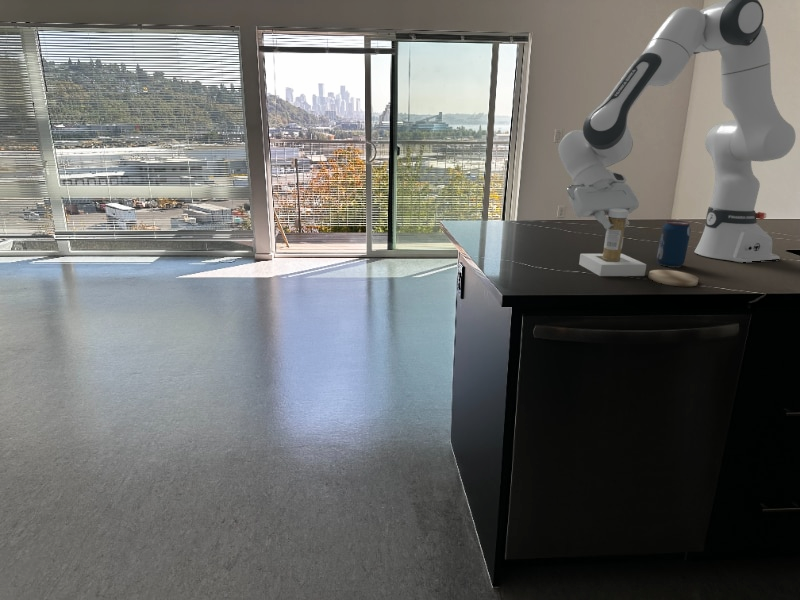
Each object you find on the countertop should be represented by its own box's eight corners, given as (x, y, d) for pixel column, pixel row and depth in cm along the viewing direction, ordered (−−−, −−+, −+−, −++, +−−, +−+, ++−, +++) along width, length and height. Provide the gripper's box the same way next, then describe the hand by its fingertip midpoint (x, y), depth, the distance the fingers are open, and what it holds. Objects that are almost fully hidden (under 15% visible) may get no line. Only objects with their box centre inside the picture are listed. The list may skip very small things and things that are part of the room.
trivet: (679, 274, 132) (679, 269, 132) (707, 286, 122) (708, 281, 121) (639, 274, 131) (640, 269, 130) (665, 286, 121) (666, 281, 120)
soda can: (688, 266, 140) (697, 223, 137) (674, 269, 137) (683, 225, 133) (664, 260, 146) (672, 219, 142) (650, 263, 142) (658, 221, 139)
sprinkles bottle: (623, 260, 133) (632, 209, 129) (613, 263, 131) (621, 211, 126) (607, 257, 137) (615, 207, 132) (597, 259, 134) (605, 208, 130)
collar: (620, 264, 141) (621, 253, 140) (644, 275, 130) (646, 264, 129) (579, 264, 139) (580, 253, 139) (600, 276, 128) (601, 264, 127)
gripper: (571, 177, 128) (596, 222, 123) (628, 175, 137) (653, 217, 132) (557, 193, 133) (580, 236, 128) (613, 190, 142) (636, 231, 137)
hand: (618, 226), depth 130 cm, fingers closed on sprinkles bottle, 4 cm apart
